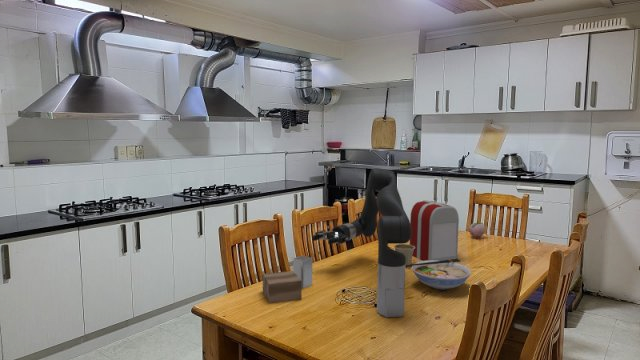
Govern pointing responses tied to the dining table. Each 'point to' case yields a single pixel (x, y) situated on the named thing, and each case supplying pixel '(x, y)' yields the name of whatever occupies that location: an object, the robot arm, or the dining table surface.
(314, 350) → the dining table surface
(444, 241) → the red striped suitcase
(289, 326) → the dining table surface
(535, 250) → the dining table surface
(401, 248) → the flower pot
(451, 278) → the ramen bowl
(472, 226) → the decorative fruit
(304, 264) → the steel tea tin
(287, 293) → the walnut box
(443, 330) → the dining table surface
